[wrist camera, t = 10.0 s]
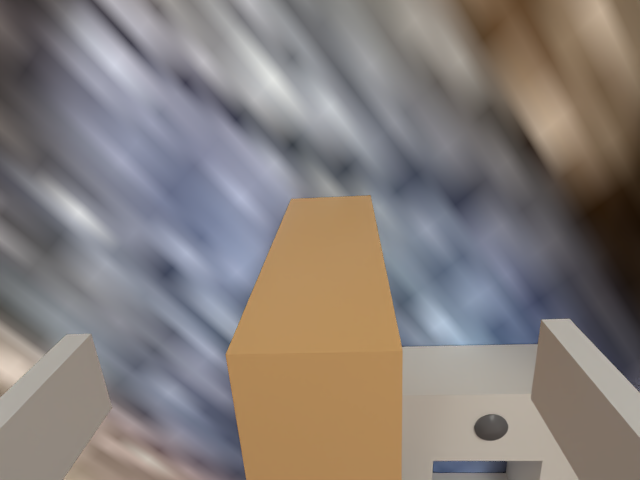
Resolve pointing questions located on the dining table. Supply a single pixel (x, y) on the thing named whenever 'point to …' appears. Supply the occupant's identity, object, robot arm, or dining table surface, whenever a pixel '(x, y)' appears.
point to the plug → (320, 351)
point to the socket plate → (475, 413)
